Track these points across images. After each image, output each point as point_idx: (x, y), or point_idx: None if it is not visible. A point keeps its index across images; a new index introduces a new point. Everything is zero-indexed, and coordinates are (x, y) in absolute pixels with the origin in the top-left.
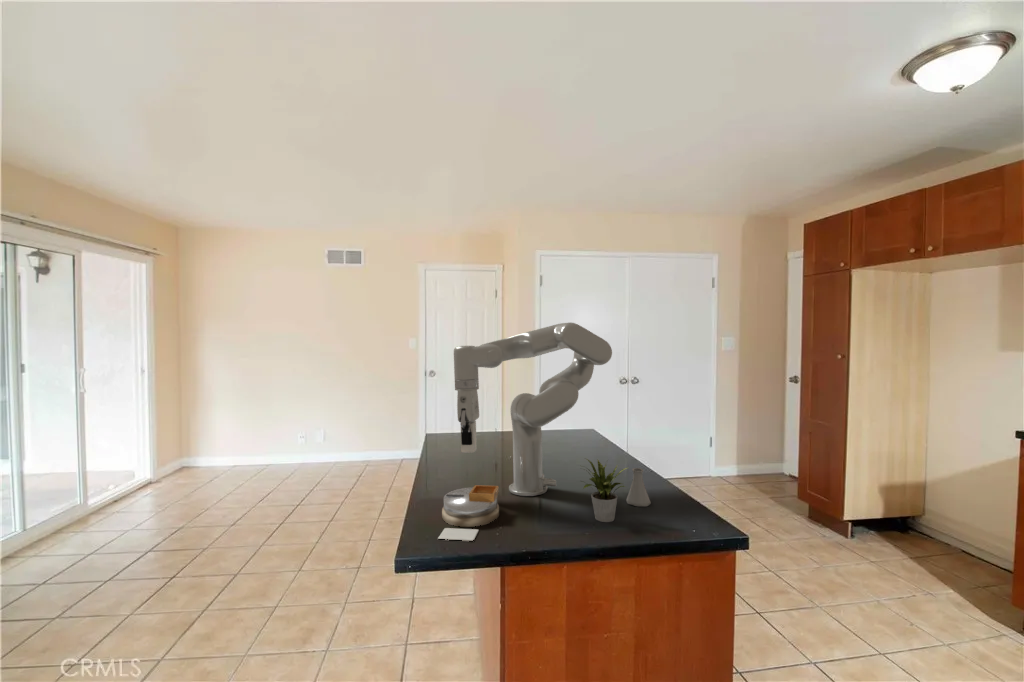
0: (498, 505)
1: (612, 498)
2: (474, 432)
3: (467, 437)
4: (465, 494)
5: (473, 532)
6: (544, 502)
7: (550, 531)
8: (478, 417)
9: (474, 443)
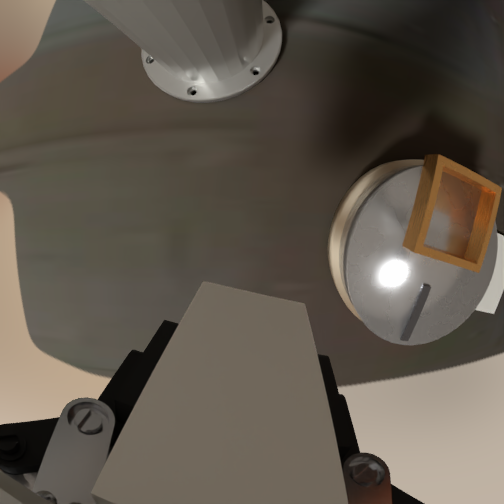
0: (415, 159)
1: None
2: (259, 403)
3: (348, 429)
4: (414, 279)
5: (498, 241)
6: (335, 14)
7: (497, 73)
8: (9, 497)
9: (276, 329)
